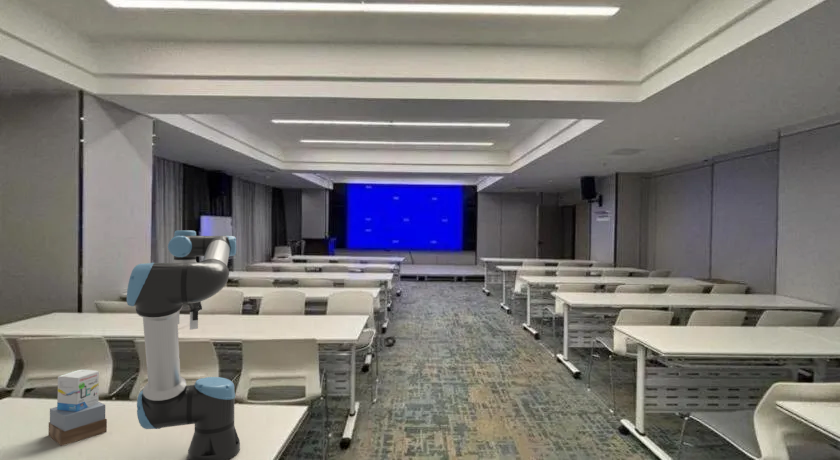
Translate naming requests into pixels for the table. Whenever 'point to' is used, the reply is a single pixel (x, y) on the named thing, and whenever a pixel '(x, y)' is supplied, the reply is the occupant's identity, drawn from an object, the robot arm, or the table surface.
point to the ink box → (78, 390)
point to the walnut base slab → (77, 432)
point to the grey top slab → (76, 417)
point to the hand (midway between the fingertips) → (184, 326)
